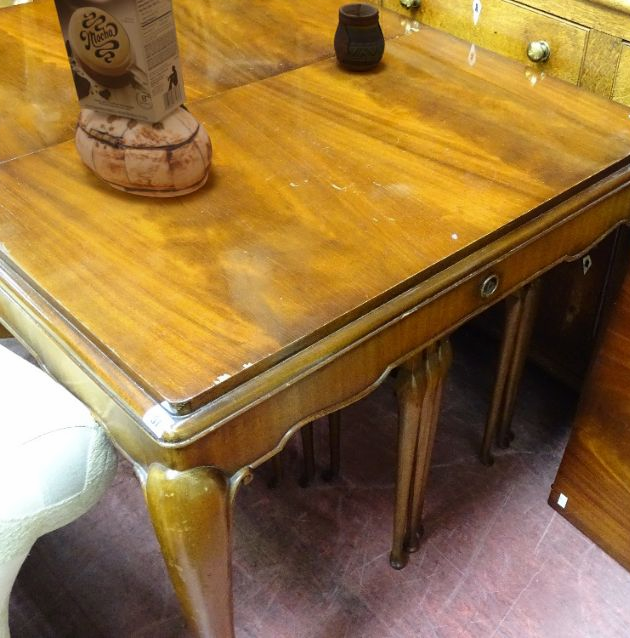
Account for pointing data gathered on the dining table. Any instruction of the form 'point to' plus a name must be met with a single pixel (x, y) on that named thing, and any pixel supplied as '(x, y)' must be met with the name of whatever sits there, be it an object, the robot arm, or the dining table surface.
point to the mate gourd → (359, 37)
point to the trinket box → (145, 152)
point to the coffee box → (123, 56)
